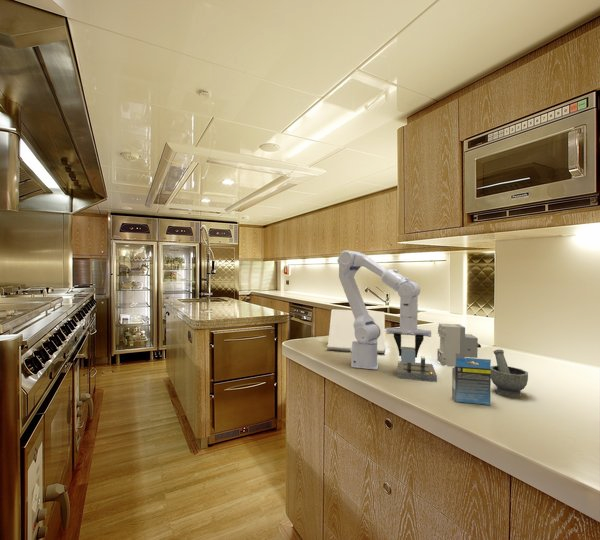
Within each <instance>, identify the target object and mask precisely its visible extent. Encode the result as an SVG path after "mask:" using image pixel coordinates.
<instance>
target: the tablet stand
mask: <svg viewBox="0 0 600 540" xmlns="http://www.w3.org/2000/svg"><path fill="white" fill-rule="evenodd" d="M367 311H368V314H369V315H370V316H371V317H372V318H373V319H374V321H375V323H376V324H377V325H378V326H379V328H380V330H381V334H380V336H379V338H377V354H379V353H385V354H386V349H385V347H386V346H385V341H386V340H385V338H386V337H385V332H386V330H385V329H386V327H385V326H386V325H385V323H386V321H385V320H386V319H385V311H377V310H373V311H371V310H367ZM354 321H355V318H354V315H353V312H352V310H351V309H337V308H336V309H331V312H330V321H329V322H330V323H329V329H328V330H329V332H328V342H327V343H328V344H326V349H327V350H328V351H339V350H340V351H341V352H352V342H353V341H358V340H357V339H356V338H355V329H354V326H353V324H354Z"/></svg>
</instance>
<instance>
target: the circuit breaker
mask: <svg viewBox="0 0 600 540" xmlns="http://www.w3.org/2000/svg"><path fill="white" fill-rule="evenodd" d="M437 334H438V337H439V348H437V359H436V360H437V362H438V361H439V362H440V363H439V362H438V363H439V364H440V365H441V366H445V365H448V366H447V367H455V366H456V357H461V358H476V359H478V348H479V349H480V348H482V345H481V344H480V343H479V340H478V339H479V338H478V337H477V336H474V335H473V334H472V333H471V334H470V333H466V327H465V326H463V325H462V324H459V323H442V322H441V323H438V327H437Z"/></svg>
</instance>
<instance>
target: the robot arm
mask: <svg viewBox="0 0 600 540" xmlns="http://www.w3.org/2000/svg"><path fill="white" fill-rule="evenodd" d="M336 261H337V264H338V279H339V281H340V283H341V286H342V288H343V292H344V294H345V297H346V300H347V302H348V304H349V305H348V306H350V310H352V312H353V315H354V318H355V321H354V324H353V326H354V329H355V338H356V339H357V340H358V341H353V342H352V351H350V352H351V356H350V367H351V368H356V369H357V368H358V369H366V370H367V369H368V370H378V368H379V362H378V353H377V338H379V336H380V334H381V330H380V328H379V326H378V325H377V324H376V323H375V321H374V319H373V318H372V317H371V316H370V315H369V314H368V311H369V310H368V309H367V308H366V304H365V301H364V299H363V296H362V295H361V291H360V289H359V287H358V284H357V282H356V279H355V275H356V273H357V272H358V271H359V270H360V268H362V267H364V268H365V269H367V270H369V271H370V272H372V273H374V274H375V275H377V276H379V277H380V278H381V281H382V283H383V284H385V285H386V286H388V287H389V288H391V289H392V290H394V291H395V292H397V294H398V296H399V297H400V299H399V301H400V302H399V304H400V305H399V308H400V309H399V327H385V329H386V330H385V332H386V335H393V339H394V341H395V343H396V346H397V349H398V357H401V347H402V335H404V336H414V348H415V359H416V358H418V353H419V351H420V348H421V345H422V343H423V341H424V337H427V338H431V337H432V331H431V330H429V329H420V328H418V316H419V315H418V314H419V313H418V312H419V311H418V310H419V309H418V308H419V304H418V300H419V299H418V298H419V297H418V296H419V295H420V293H421V286H420V285H419V284H418V283H417V282H416V281H415V280H410V278H409V277H408V276H407V277H405V276H404V275H402V274H401V273H399V270H398V269H393V268H390V269H386V268H385V267H383V265H380V264H379V263H378V262H376V261H375V260H374V259H372V257H369V256H368V255H367V254H366V253H365V254H364V253H363V252H361V251H354V250H353V251H352V250H348V249H345V250H342V251H341V253H340V254H339V256H338V259H337V260H336Z"/></svg>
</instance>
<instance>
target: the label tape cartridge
mask: <svg viewBox="0 0 600 540" xmlns="http://www.w3.org/2000/svg"><path fill="white" fill-rule="evenodd" d="M491 361H492V360H491V359H487V358H470V357H465V358H461V357H456V366H453V367H452V371H451V373H452V374H451V381H452V382H451V398H452V399H453V401H454V400H455V401H454V402H456V403H463V402H464V403H465V404H477V405H478V404H479V405H486V406H491V396H492V395H491V392H492V391H491V390H492V389H491V385H492V384H491V381H492V380H491V369H490V367H491V366H492V365H491ZM472 362H473V363H475V364H469V363H472ZM476 363H477V364H476Z"/></svg>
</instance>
